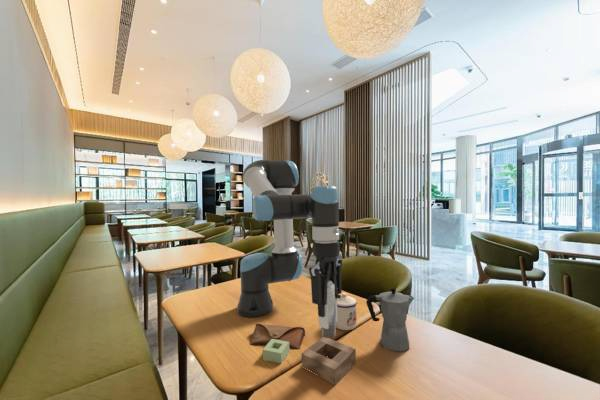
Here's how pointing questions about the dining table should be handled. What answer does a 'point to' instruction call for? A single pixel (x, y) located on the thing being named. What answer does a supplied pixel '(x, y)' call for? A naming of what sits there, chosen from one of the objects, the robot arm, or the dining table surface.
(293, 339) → the sunglasses case
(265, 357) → the pale green holed block
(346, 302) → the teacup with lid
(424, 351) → the dining table surface
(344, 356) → the brown square holed block
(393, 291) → the coffeepot
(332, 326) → the silver metal cylinder
